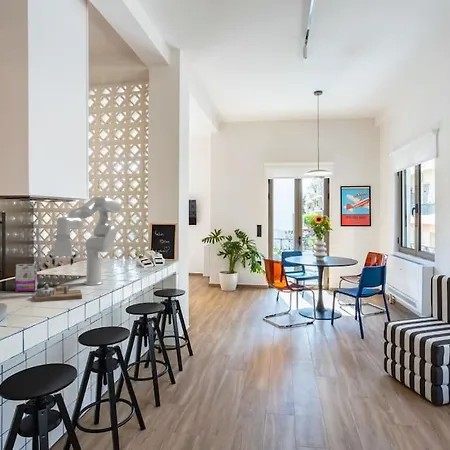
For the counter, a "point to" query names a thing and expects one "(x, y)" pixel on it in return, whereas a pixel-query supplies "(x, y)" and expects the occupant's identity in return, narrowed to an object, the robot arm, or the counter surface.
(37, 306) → the counter surface
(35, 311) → the counter surface
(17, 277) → the candy bar box
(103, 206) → the robot arm
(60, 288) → the wooden gear
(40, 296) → the gear board
